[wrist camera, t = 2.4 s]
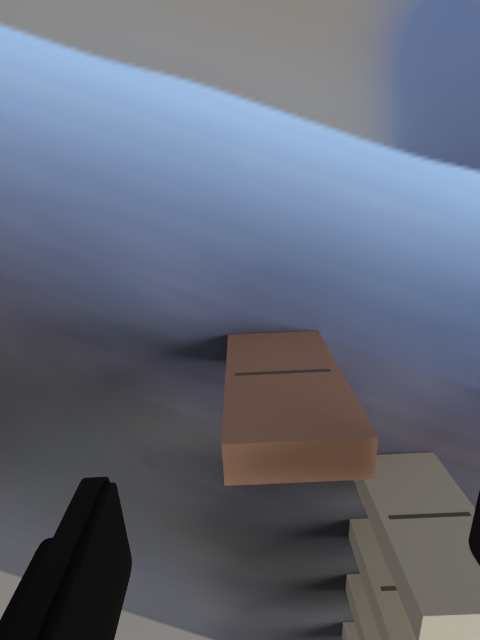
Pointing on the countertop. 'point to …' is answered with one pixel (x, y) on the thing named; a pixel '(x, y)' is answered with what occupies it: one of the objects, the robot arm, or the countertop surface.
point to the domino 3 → (361, 608)
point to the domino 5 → (426, 543)
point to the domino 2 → (349, 631)
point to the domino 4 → (379, 583)
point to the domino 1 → (291, 414)
